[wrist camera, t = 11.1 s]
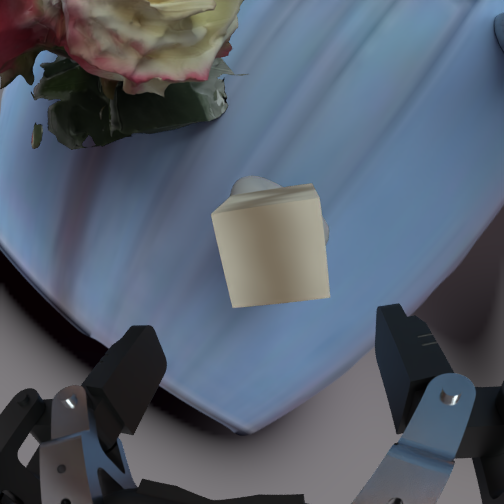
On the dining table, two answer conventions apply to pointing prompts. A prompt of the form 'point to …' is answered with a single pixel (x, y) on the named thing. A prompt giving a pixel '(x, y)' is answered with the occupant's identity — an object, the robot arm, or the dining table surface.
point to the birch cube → (273, 246)
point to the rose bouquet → (120, 63)
